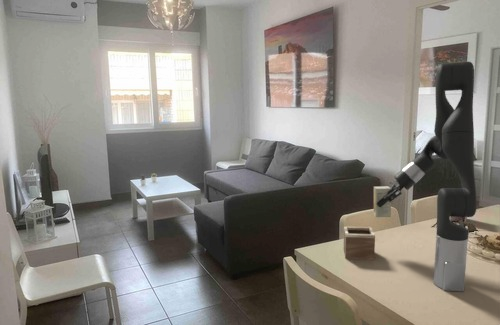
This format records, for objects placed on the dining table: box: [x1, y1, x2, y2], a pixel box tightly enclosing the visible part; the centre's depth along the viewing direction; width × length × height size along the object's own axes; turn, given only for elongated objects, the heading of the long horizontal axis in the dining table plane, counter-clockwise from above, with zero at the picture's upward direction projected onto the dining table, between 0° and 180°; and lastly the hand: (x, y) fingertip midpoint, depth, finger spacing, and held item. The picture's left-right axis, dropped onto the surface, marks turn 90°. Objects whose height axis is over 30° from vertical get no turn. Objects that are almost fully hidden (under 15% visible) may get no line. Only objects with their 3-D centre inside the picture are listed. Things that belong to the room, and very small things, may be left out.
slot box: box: [343, 225, 376, 261], centre depth 149 cm, size 10×11×10 cm
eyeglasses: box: [431, 219, 479, 233], centre depth 174 cm, size 15×15×5 cm
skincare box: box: [373, 185, 392, 218], centre depth 151 cm, size 6×4×12 cm
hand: (377, 203), depth 152 cm, fingers closed on skincare box, 4 cm apart
